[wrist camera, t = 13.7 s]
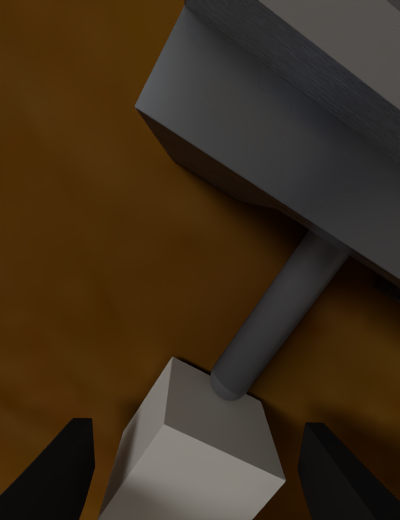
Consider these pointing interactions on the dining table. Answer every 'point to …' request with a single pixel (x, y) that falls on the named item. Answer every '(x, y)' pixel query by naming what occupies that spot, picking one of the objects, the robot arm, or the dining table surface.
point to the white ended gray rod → (216, 415)
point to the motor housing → (291, 114)
